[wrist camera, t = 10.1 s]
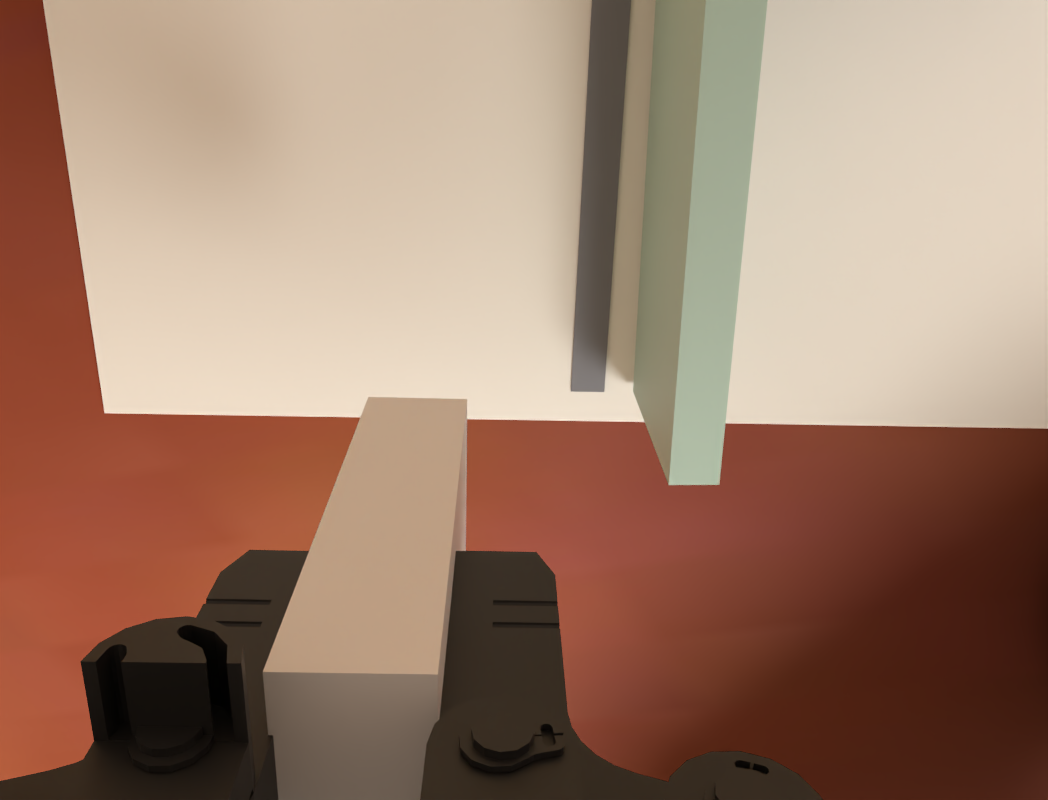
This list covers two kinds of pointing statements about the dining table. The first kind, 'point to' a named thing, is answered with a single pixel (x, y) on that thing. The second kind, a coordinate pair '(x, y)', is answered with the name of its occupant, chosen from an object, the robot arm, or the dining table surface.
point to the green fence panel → (695, 225)
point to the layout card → (548, 207)
